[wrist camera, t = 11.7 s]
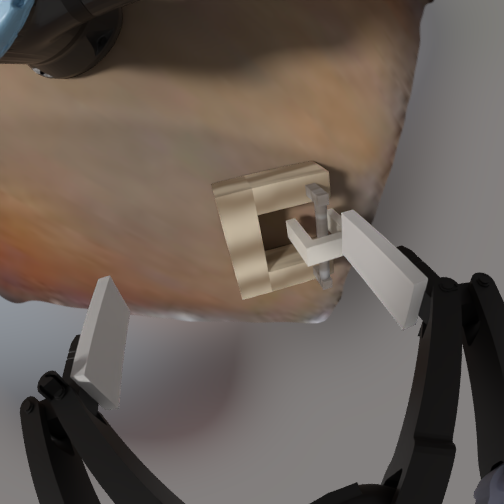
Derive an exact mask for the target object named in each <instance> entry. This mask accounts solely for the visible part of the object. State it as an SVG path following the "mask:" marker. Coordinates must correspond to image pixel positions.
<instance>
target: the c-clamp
mask: <svg viewBox="0 0 504 504" xmlns="http://www.w3.org/2000/svg"><path fill="white" fill-rule="evenodd" d="M211 185H212V189H213V193H214V197H215V201H216V205H217V209H218V212H219V216H220V220H221V224H222V227H223V231H224V235H225V238H226V242H227V246H228V249H229V253H230V257H231V260H232V264H233V268H234V271H235V275H236V278H237V282H238V285H239V289H240V293H241V296H242V300H244V299H248V298H251V297H255V296H258V295H262V294H265V293H269V292H272V291H276V290H279V289H283V288H286V287H290V286H293V285H296V284H300V283H303V282H306V281H310V280H313V279H317V280H318V282H319V283H320V285H321V287H322V288H323V290H325V289H328V288H331V287H332V279H331V277H330V274H332V273H334V259H331V260H328V261H325V262H322V263H319V264H315V265H312V266H309V267H308V266H307V264H306V263H305V261H304V260H303V258H302V257H301V255H300V254H299V252H298V251H297V249H296V248H295V247H294V245H293V244H289V245H286V246H282V247H278V248H275V249H271V250H267V251H264V246H263V241H262V236H261V231H260V226H259V221H258V216H257V215H261V214H265V213H269V212H272V211H276V210H280V209H284V208H288V207H292V206H296V205H301V204H305V203H309V202H314V207H315V218H316V231H317V237H315V238H311V239H312V240H314V239H317V238H321V237H324V236H327V235H328V221H327V206H326V205H329V198H330V197H331V194H330V181H329V171H327V170H326V169H324V168H323V167H321V166H320V165H318V164H317V163H315V162H313V161H308V162H303V163H298V164H294V165H289V166H284V167H280V168H275V169H271V170H266V171H262V172H258V173H253V174H249V175H245V176H241V177H237V178H233V179H229V180H225V181H221V182H217V183H214V184H211Z"/></svg>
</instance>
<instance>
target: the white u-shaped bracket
mask: <svg viewBox="0 0 504 504" xmlns="http://www.w3.org/2000/svg"><path fill="white" fill-rule="evenodd" d="M327 221H328V230H329V231H330V232H331V233H332V234H331V235H327V236H324V237H321V238H317V239H314V240H312V239H311V237H310V236H309V235H308V234H307V232H306V231H305V230H304V229H303V227H302V226H301V225H300V224H299V223H298V221H297V220H296V219H295V218H294V219H290V220H286V226H287V233H288V238H289V239H290V241H291V242H292V244H293V245H294V247H295V248H296V249H297V251H298V252H299V254H300V255H301V257H302V258H303V260H304V261H305V263H306V264H307V266H308V267H309V266H312V265H315V264H319V263H322V262H325V261H328V260H331V259H334V258H338V257H341V256H344V255H343V254H342V218H341V215H339V214H338V213H337V212H336V211H335V210H334V209H333V208H331V209H328V210H327Z"/></svg>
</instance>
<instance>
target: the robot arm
mask: <svg viewBox="0 0 504 504" xmlns="http://www.w3.org/2000/svg"><path fill="white" fill-rule="evenodd" d="M136 1H139V0H0V64H27V65H28V66H29V67H30V68H31V69H32V70H33V71H35V72H36V73H37V74H39V75H41V76H44V77H47V78H54V79H64V78H70V77H74V76H77V75H79V74H82V73H84V72H86V71H87V70H89V69H90V68H92V67H93V66H95V65H96V64H97V63H98V62H99V61H101V60H102V59H103V58H104V56H105V55H106V54H107V53H108V52H109V51H110V49H111V48H112V46H113V45H114V43H115V41H116V39H117V37H118V35H119V32H120V29H121V24H122V9H121V7H122V6H125V5H128V4H130V3H133V2H136ZM341 218H342V254H343V255H344V256H345V257H346V259H347V260H348V261H349V262H350V263H351V265H352V266H353V267H354V268H355V269H356V271H357V272H358V273H359V274H360V276H361V277H362V278H363V279H364V281H365V282H366V283H367V284H368V286H369V287H370V288H371V289H372V291H373V292H374V293H375V295H376V296H377V297H378V298H379V300H380V301H381V302H382V304H383V305H384V306H385V307H386V309H387V310H388V311H389V313H390V314H391V315H392V317H393V318H394V319H395V320H396V322H397V323H398V325H399V326H400V327H401V329H402V330H405V329H407V328H409V327H411V326H413V325H415V324H416V321H417V319H418V315H419V317H420V318H421V319H422V320H423V322H422V325H421V328H420V331H419V334H418V336H420V341H419V349H418V355H417V361H416V367H415V373H414V378H413V383H412V388H411V393H410V398H409V402H408V407H407V411H406V415H405V418H404V422H403V426H402V430H401V433H400V437H399V440H398V443H397V447H396V450H395V453H394V456H393V458H392V461H391V463H390V464H389V466H388V469H387V471H386V473H385V475H384V478H383V481H382V483H381V485H379V484H362V485H358V483H357V482H356V483H354V484H352V485H349V486H346V487H344V488H341V489H338V490H336V491H333V492H330V493H328V494H326V495H324V496H322V497H321V498H319V499H317V500H316V501H314V502H312V503H310V504H442V502H443V499H444V495H445V492H446V489H447V486H448V482H449V478H450V475H451V471H452V467H453V463H454V458H455V453H456V447H455V444H454V443H453V441H452V440H453V433H454V427H455V421H456V414H457V406H458V399H459V389H460V378H461V377H460V376H461V361H462V344H463V349H464V353H465V357H466V362H467V367H468V372H469V378H470V383H471V390H472V396H473V403H474V411H475V421H476V431H477V446H478V462H479V471H480V476H481V481H480V482H479V484H478V486H477V488H476V490H475V491H474V498H475V499H476V503H475V504H504V302H503V300H502V297H501V295H500V293H499V291H498V289H497V286H496V285H495V282H494V281H493V279H492V278H491V277H490V276H489V275H487V274H484V273H475V274H474V275H473V276H472V278H471V281H470V282H469V283H461V284H458V283H457V282H455V281H454V280H453V279H451V278H447V277H441V278H440V277H439V276H438V275H437V274H436V273H435V272H434V271H433V270H432V269H431V268H430V267H429V266H428V265H427V264H426V263H424V262H422V260H421V259H420V258H419V257H417V255H416V254H415V253H414V252H413V251H411V250H410V249H408V248H406V247H404V246H399V247H395V246H394V245H393V244H392V243H391V242H389V241H388V240H387V239H386V238H385V237H384V236H383V235H382V234H381V233H380V232H378V231H377V230H376V229H375V228H374V227H373V226H372V225H371V224H369V223H368V222H367V221H366V220H365V219H364V218H362V217H361V216H360V215H359V214H358V213H357V212H355V211H354V210H350V211H346V212H342V213H341ZM129 317H130V310H129V308H128V307H127V305H126V303H125V302H124V300H123V298H122V296H121V295H120V293H119V291H118V289H117V287H116V286H115V284H114V282H113V280H112V278H111V277H110V276H107V277H103V278H100V279H98V282H97V285H96V288H95V291H94V294H93V297H92V300H91V303H90V306H89V309H88V312H87V315H86V319H85V322H84V325H83V329H82V332H81V334H80V335H76V337H75V338H74V340H73V341H72V343H71V346H70V349H69V353H68V357H67V361H66V364H65V369H64V373H63V377H60V375H59V374H58V373H57V372H56V371H48V372H47V373H45V374H44V375H43V376H42V377H41V378H40V380H39V382H38V387H37V388H38V392H39V393H40V394H42V395H43V396H44V397H45V398H46V399H44V400H42V401H40V402H39V401H38V400H37V399H36V398H35V397H32V396H30V397H27V398H26V399H25V400H24V401H23V403H22V404H21V407H20V417H21V425H22V431H23V438H24V443H25V448H26V454H27V458H28V463H29V467H30V472H31V476H32V479H33V483H34V487H35V490H36V493H37V497H38V500H39V503H40V504H101V503H100V501H99V499H98V497H97V495H96V493H95V491H94V488H93V486H92V484H91V481H90V479H89V477H88V474H87V471H86V469H85V466H84V464H83V461H84V462H85V464H86V466H87V467H88V468H89V470H90V471H91V473H92V474H93V476H94V477H95V478H96V480H97V481H98V482H99V484H100V485H101V487H102V488H103V489H104V490H105V492H106V493H107V494H108V496H109V497H110V498H111V499H112V500H113V502H114V503H115V504H185V503H184V502H182V500H180V499H179V498H178V497H177V496H176V495H175V494H174V493H172V492H171V491H170V490H169V489H168V488H167V487H166V486H165V485H164V484H163V483H162V482H161V481H160V480H159V479H158V478H157V477H156V476H155V475H154V474H153V473H151V471H150V470H149V469H148V468H147V467H146V466H145V465H144V464H143V463H142V462H141V461H140V460H139V459H138V458H137V456H136V455H135V454H134V453H133V452H132V451H131V450H130V449H129V447H127V445H126V444H125V443H124V442H123V441H122V439H121V438H120V437H119V436H118V434H117V433H116V432H115V431H114V430H113V428H112V427H111V426H110V425H109V423H108V422H107V421H106V419H105V418H104V417H103V415H102V414H101V413H100V412H99V411H98V404H99V405H100V406H101V407H103V408H104V409H105V410H111V409H119V401H120V389H121V378H122V368H123V359H124V351H125V344H126V336H127V329H128V323H129ZM82 460H83V461H82Z"/></svg>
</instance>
